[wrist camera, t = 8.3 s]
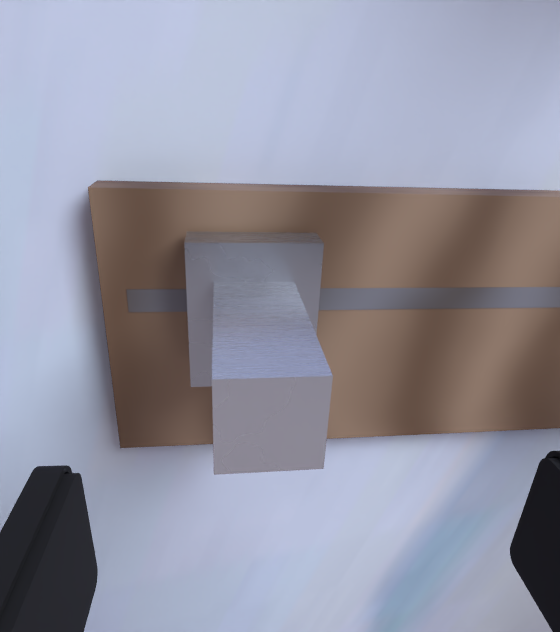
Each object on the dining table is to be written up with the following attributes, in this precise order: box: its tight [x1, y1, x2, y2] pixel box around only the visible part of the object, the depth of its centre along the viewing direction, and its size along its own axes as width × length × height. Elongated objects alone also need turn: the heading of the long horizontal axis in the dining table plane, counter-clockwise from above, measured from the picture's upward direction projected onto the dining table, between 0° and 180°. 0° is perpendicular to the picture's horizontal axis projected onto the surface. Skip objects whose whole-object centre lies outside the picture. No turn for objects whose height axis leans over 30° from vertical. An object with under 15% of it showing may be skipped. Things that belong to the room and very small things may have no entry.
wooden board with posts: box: [88, 181, 560, 448], centre depth 19 cm, size 30×12×10 cm, turn 88°
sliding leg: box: [184, 232, 333, 475], centre depth 17 cm, size 5×9×8 cm, turn 178°
